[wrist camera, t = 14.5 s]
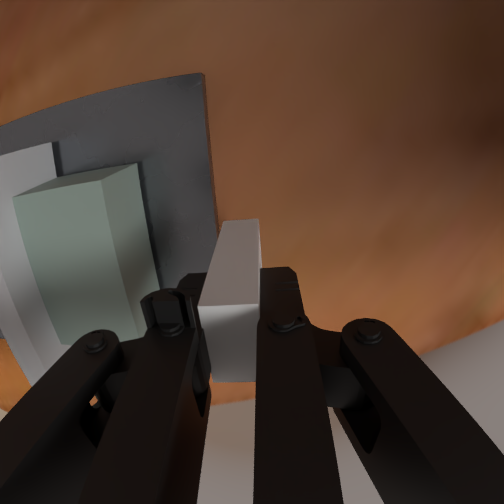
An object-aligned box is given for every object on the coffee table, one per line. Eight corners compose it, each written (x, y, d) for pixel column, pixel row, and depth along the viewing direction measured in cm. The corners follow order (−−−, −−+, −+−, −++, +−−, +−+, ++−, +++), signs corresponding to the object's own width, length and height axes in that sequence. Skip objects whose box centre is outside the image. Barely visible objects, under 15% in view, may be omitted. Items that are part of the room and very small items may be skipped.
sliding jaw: (26, 149, 14) (-49, 174, 9) (132, 123, 14) (65, 133, 8) (75, 329, 19) (34, 390, 14) (170, 332, 19) (144, 408, 13)
